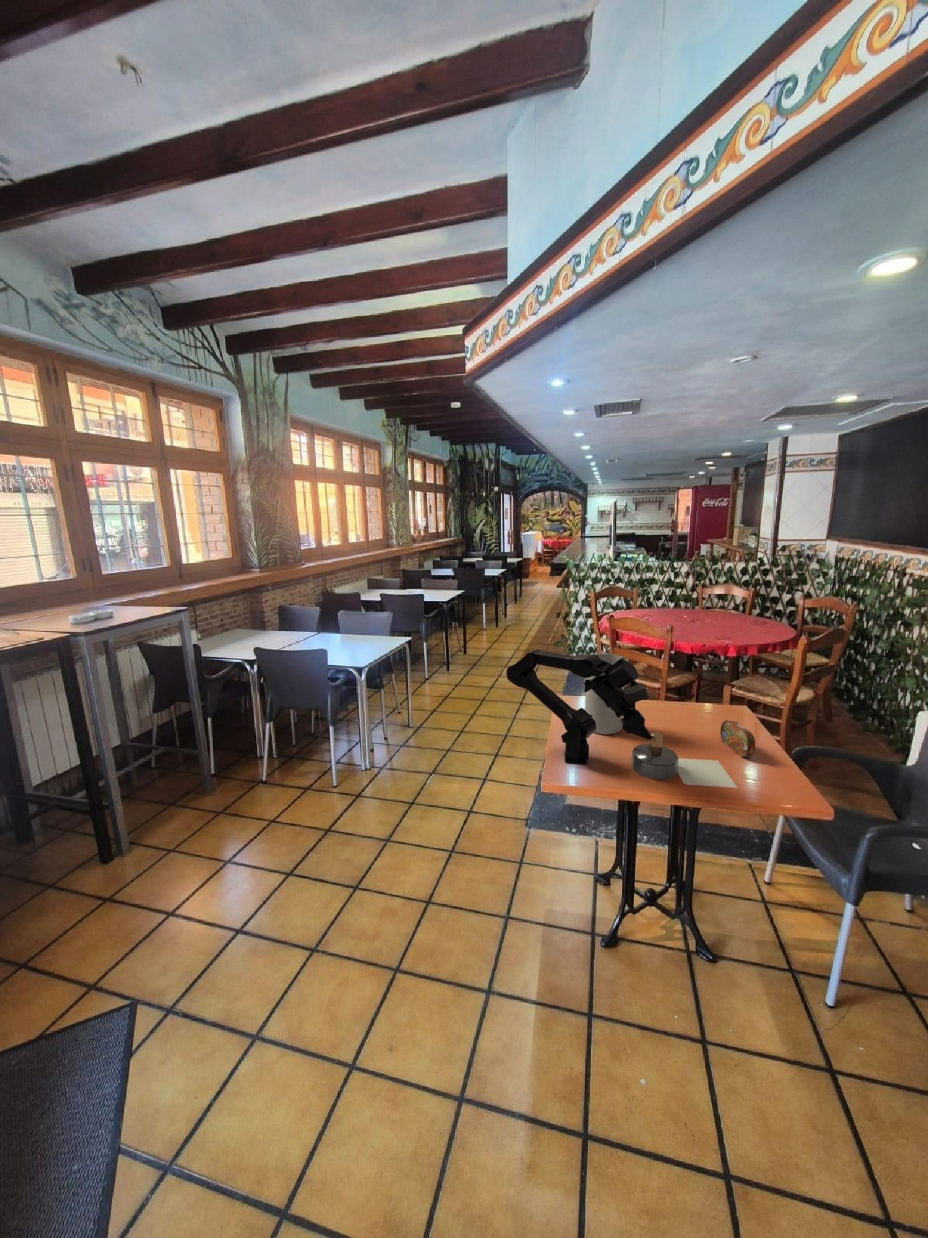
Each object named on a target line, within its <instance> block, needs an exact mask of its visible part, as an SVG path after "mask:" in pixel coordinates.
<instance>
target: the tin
mask: <svg viewBox="0 0 928 1238" xmlns="http://www.w3.org/2000/svg"><path fill="white" fill-rule="evenodd" d="M719 732H720V738H721V742H722V743H724V744H725V745H726V746H728V748H730V749H731V750H732V751H733V752H734V753H735V754H736V755H738V756H739V757H740V758H750V757H753V755H754V753H755V749H756V739H755V736H754V735H753V733H752V732H751V731H750V730H748V729H747V728H746V727H744V726H743V725H741V724H740V723H739V722H737V721H734V720H724V721H723V722H722V724H721V727H720V731H719Z"/></svg>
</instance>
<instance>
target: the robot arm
mask: <svg viewBox="0 0 928 1238" xmlns="http://www.w3.org/2000/svg"><path fill="white" fill-rule="evenodd" d="M595 654H596V653H594V654H593V653H590V654H589V653H587V654H575V655H571V654H570V655H569V654H565V653H558V652H553V651H551V652H550V651H547V650H546V651H545V650H540V649H538V648H535V649H533V650H530V651H528V652H527V653H526V654H525V655H524V656H523V657H522V658H521V659H519V660H517V662H515V663H514V664H512V665H509V666H508V667H507V668H506V671H505V674H506V678H507V680H508V681H509V682H510V683H512V684H513V685H515V687H517V688H521V689H524V690H526V691H529V692H530V694H532V695H533V696H534V697H535V698H536V699H537V700H538V701H539V702H541V704H543V705H544V706H545V707H546V708H547V709H549V710H550V712H552V713H553V714H554V715H555V716H556V717H558V718H559V719H560V721H561V722H562V725H563V727H564V729H565V731H566V732H564V733H562V734H561V736H560V737H561V741H562V743H563V744H564V745H565V746H564V752H563V753H564V754H563V755H564V762H565V764H566V763H567V764H579V765H581V764H583V765H588V760H589V759H590V758H589V757H590V756H589V755H590V744H589V742H588V738H590V737H591V735H593V734H594V732H595V730H596V722H595V720H594V719H593V718H592V717H593V716H592V715H590V714H589V713H587V712H586V711H585V708H583V707H580V708H579V709H575V708H573V707H572V706H570V705H569V704H568V703H567V702H566V701H564V699H562V698H561V697H560V696H559V695H558V694H556V692H554V691H553V690H552V689H551V688H550V687H548V686H547V685H546V684H545V683H544V682H543V681H541V680H540V679H539V678H538V676H537V672H536V671H535V668H536V667H538V665H539V666H545V667H550V668H555V669H559V670H560V669H561V670H566V671H569V672H570V673H572V674H573V675H575V676H578V677H580V678H583V679H585V680H584V683H583V685H584V690H583V692H584V693H586V692H587V691H589V690H591V689H592V690H593V691H594V692H595V693H596V694H597V695H598V696H599V698H600V699H601V700H602V701H603V702H604V703H605V705H606V706H607V707H608V708H610V709H611V710H612V711H613V712H614V713H615V715H616V716H617V717H618V718H619V717H620V716H622V719H621V721H620V724H621V727H622V729H621V730H623V732H624V733H626V735H628V734H632V735H634V736H638V737H641V738H643V739H645V740H648V741H649V740H651V739H652V738H653V737H652V736H651V734H650V731H649V730H648V729H647V727H646V726H645V725H646V723H645V722H646V719H645V718H646V717H644V715H643V713H641V711H640V710H638V709H636V703H638V702H641V701H644V700H648V699H649V698H650V695H649V693H648V691H647V688H646V686H645V684H644V683H643V682H641V681H639V682H638V681H636V680H638V679H639V673H638V670H637V669H636V666H635V665H634V664H632V663H631V662H629V661H628V660H627V659H626V658H625V657H624V658H625V659H626V660H625V659H624V658H621V659H619V660H618V661H617V662H616V663H614V664H610V663H608V662H606V661H603V660H601V659H600V658H599V656H597V655H595ZM603 673H605V674H604V675H601V674H603ZM591 676H596V677H595V678H593V679H590V680H587V679H586V678H590V677H591ZM627 685H628V686H627ZM625 686H626V688H625ZM622 687H624V690H623V689H622Z"/></svg>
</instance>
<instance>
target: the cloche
mask: <svg viewBox="0 0 928 1238" xmlns="http://www.w3.org/2000/svg"><path fill="white" fill-rule="evenodd" d="M649 733H650V734H651V736H652V737H653V738H652V739H651V740H648V743H645V744H639V745H636V746H635V747H634V748H633V749H632V752H631V763H630V764H631V767H632V771H633V772H635V773H637V774H638V775H639V776H640V777H645V778H647V779H650V780H654V781H655V780H658V781H667V780H671V779H674V778H675V777H676V775H677V774H678V772H677V769H678V754H677V753H676V751H674V750H673V749H671V748H668V747H666V746H663V743H664V734H663V733H662V732H660V731H649Z"/></svg>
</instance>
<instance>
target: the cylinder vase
mask: <svg viewBox="0 0 928 1238" xmlns="http://www.w3.org/2000/svg"><path fill="white" fill-rule="evenodd" d="M594 654H595V655H597V656H599V658H600V659H601V660H603V661H606V662H608V663H610V664H614V663H616V662H617V661H618V660H619V659H621V658H624V659H625V660H626V661H627V659H626V658H625V657H624V656H622V655H618V654H612V653H594ZM604 674H605V673H603V674H601V675H604ZM595 677H596V676H591V677H590V678H585V680H586V679H587V680H590V679H593V678H595ZM622 689H623V690H625V686H624V687H622ZM584 702H585V703H584V704H585V706H584V709H585V711H586V712H587V713H589V714H590V715H592V716H593V717H592V718H593V719H594V720H595V722H596V730H595V732H594V733H595V734H599V735H607V736H608V735H616V734H618V733H619V732H621V731H622V730H623V729H622V727H621V724H620V721H621V719H622V718H623V716H620V717H619V718H618V717H617V716H616V715H615V713H614V712H613V711H612V710H611V709H610V708H608V707H607V706H606V705H605V703H604V702H603V701H602V700H601V699H600V698H599V696H598V695H597V694H596V693H595V692H594V691H593V690H592V689H591V690H589V691H587V692H585V700H584ZM594 733H593V734H594Z"/></svg>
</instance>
